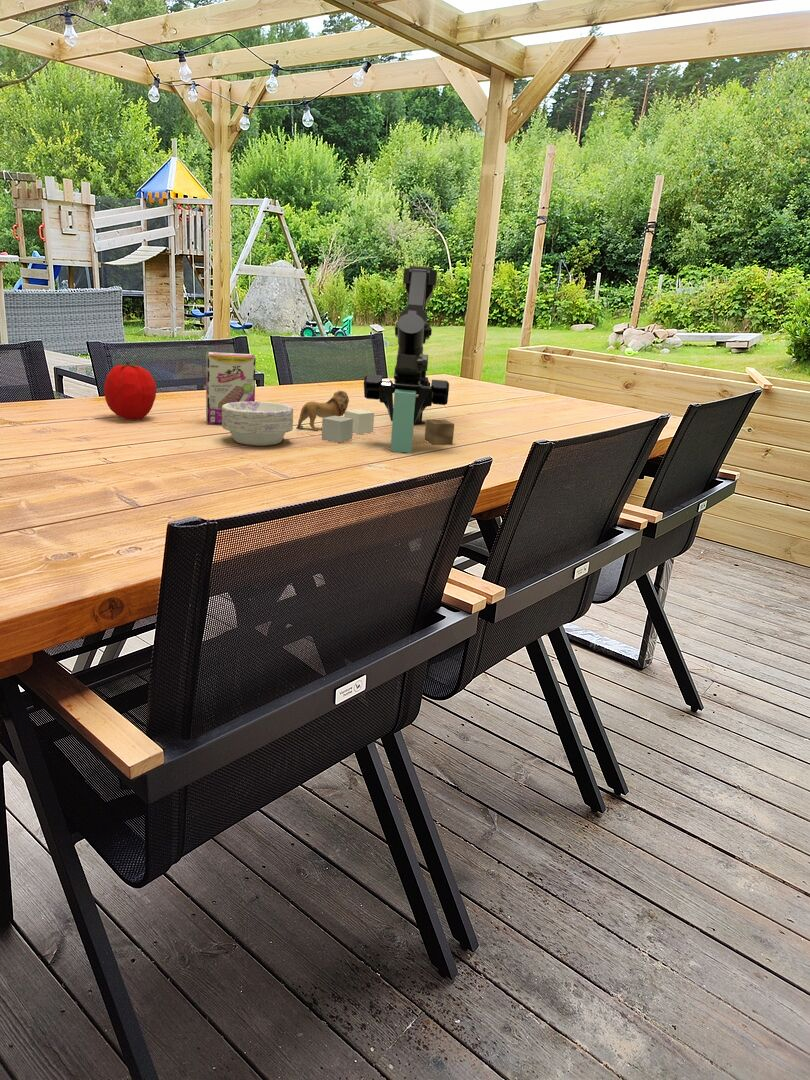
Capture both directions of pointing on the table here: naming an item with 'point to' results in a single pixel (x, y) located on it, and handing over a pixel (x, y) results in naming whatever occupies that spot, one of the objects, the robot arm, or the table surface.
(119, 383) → the tomato
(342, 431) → the grey cube
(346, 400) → the lion figurine
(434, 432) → the walnut cube
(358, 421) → the off-white cube
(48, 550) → the table surface
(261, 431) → the paper bowls
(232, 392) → the candy bar box
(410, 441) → the green block
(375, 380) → the robot arm
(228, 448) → the table surface
